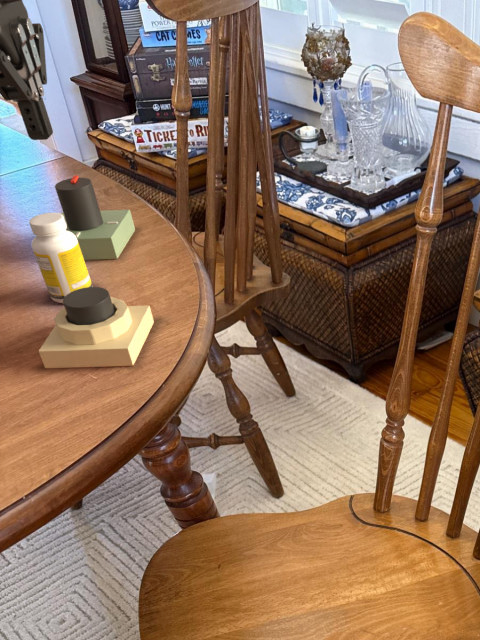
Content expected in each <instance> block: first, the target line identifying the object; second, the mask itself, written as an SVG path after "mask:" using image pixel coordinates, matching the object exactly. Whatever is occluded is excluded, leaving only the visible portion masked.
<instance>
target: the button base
mask: <svg viewBox="0 0 480 640" xmlns="http://www.w3.org/2000/svg"><path fill="white" fill-rule="evenodd" d="M110 298H111V301H112V304H113V308H114V311H115V314H114V316H112V317H110V318H109V319H107V320H105V321H103V322H100V323H96V324H92V325H75V324H72V323H71V322H70V321H69V318H68V315H67V312H66V309H65V307H64V306H63V307H62V308H60V309H59V311H58V312H57V314H56V315H55V316H54V318H53V320H54V323H55V326H54V327H53V329H52V330H51V331H50V333H49V335H48V336H47V338H46V339H45V341H44V342H43V343H42V345H41V347H40V348H39V349H38V354H39V356H40V359H41V362H42V364H43V367H44V369H68V368H69V369H70V368H102V367H105V368H106V367H133V366H134V365H135V363H136V361H137V359H138V357H139V355H140V353H141V351H142V348H143V346H144V345H145V342H146V340H147V338H148V336H149V333H150V331H151V330H152V327H153V325H154V323H155V321H154V316H153V313H152V309H151V307H150V305H127V303H126V302H125V301H124V300H123V299H119V298H117V297H113V296H110Z"/></svg>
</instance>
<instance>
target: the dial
mask: <svg viewBox="0 0 480 640" xmlns="http://www.w3.org/2000/svg"><path fill="white" fill-rule="evenodd" d="M54 189H55V192H56V195H57V198H58V200H59V204H60V207H61V210H62V212H63V213H64V216H65V219H66V222H67V225H68V228H69V229H71V230H76V231H83V230H89V229H93V228H96V227H98V226H100V225H101V224H102V223H103V219H102V216H101V212H100V211H101V209H100V206H99V203H98V199H97V196H96V192H95V188H94V186H93V182H92V180H91V179H90V178H87V177H79V175H77V174H76V175H73V176H72V177H71V178H66V179H63V180H61V181H58V182H57V183H56V184H54Z"/></svg>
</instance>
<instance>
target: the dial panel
mask: <svg viewBox="0 0 480 640" xmlns="http://www.w3.org/2000/svg"><path fill="white" fill-rule="evenodd" d="M100 212H101V216H102V219H103V223H102V224H101V225H100V226H98V227H96V228H93V229H89V230H83V231H76V230H71V229H69V228H68V225H67V222H66V219H65V216H64V213H63V211H62V212H60V214H62V215H63V217H64V220H65V222H66V226H67V228H66V230H67V231H70V232H72V233H73V234H74V235H75V236H76V238H77V240H78V243H79V246H80V249H81V252H82V255H83V258H84V261H92V260H93V261H97V260H118V259H119V257H120V255H121V254H122V252H123V251H124V249H125V247H126V246H127V244H128V243H129V241H130V239H131V238H132V237H133V235H134V233H135V232H136V227H135V224H134V220H133V215H132V212H131V209H109V210H106V209H105V210H100Z"/></svg>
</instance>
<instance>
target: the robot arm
mask: <svg viewBox="0 0 480 640" xmlns="http://www.w3.org/2000/svg"><path fill="white" fill-rule="evenodd" d="M47 75H48V74H47V62H46V47H45V36H44V28H43V26H42V24H41V23H39V22H37V23H33V22H32V20H31V19H30V17H29V13H28V10H27V8H26V6H25V3H24V1H23V0H0V96H1V97H2V98H3V100H5V101H6V102H7V101H10V102H11V101H12V102H14V103H16V104H17V106H18V109H19V113H20V115H21V118H22V121H23V124H24V127H25V130H26V133H27V136H28V137H29V139H31V140H32V141H44V140H45V141H46V140H48V139H49V138H50V137H51V136H52V135H53V134H54V130H53V129H54V128H53V126H52V124H51V120H50V117H49V114H48V111H47V108H46V104H45V101H44V96H45V90H44V86H43V85H47V84H48V77H47Z"/></svg>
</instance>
